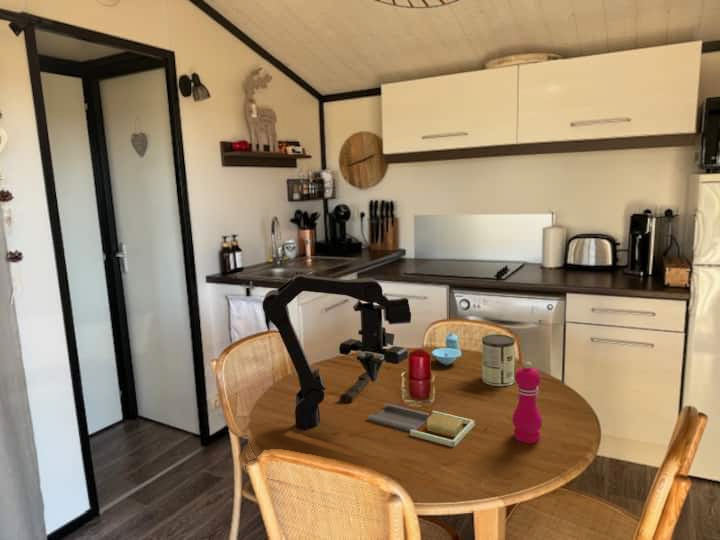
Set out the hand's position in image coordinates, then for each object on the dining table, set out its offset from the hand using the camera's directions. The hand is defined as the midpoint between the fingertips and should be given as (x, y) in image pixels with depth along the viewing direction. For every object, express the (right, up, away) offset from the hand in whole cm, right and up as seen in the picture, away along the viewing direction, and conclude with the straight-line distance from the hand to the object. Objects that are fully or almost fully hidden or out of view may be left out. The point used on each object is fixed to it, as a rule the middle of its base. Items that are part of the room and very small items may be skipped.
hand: (373, 381), depth 140 cm
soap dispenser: (+29, -3, +48) cm, 56 cm away
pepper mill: (+39, -12, -9) cm, 42 cm away
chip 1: (+17, -12, -5) cm, 21 cm away
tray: (+18, -13, -6) cm, 23 cm away
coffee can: (+41, -6, +28) cm, 50 cm away
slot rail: (+7, -12, +1) cm, 14 cm away
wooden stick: (-5, -9, +22) cm, 24 cm away
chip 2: (+20, -12, -8) cm, 25 cm away
